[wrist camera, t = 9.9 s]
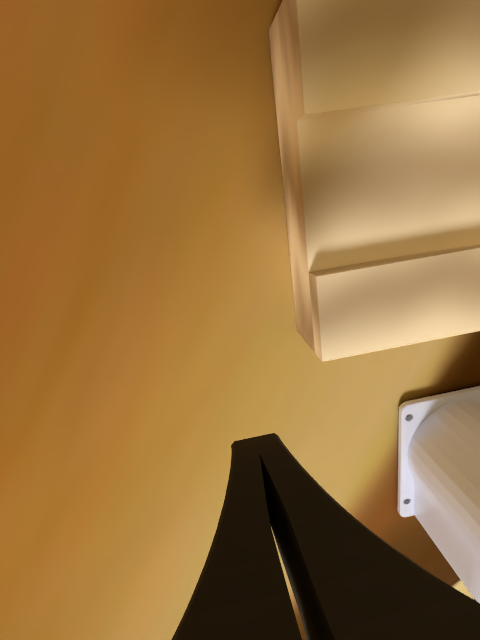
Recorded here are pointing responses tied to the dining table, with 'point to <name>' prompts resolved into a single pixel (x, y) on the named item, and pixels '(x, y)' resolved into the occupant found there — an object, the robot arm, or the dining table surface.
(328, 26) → the grooved board
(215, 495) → the dining table surface
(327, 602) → the robot arm
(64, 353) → the dining table surface
